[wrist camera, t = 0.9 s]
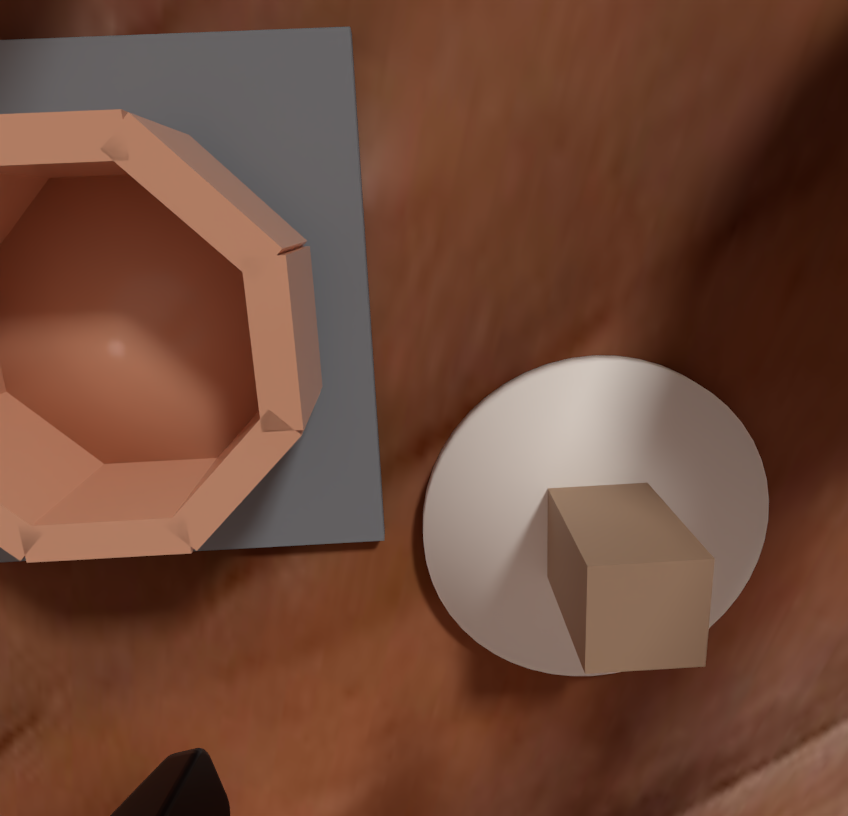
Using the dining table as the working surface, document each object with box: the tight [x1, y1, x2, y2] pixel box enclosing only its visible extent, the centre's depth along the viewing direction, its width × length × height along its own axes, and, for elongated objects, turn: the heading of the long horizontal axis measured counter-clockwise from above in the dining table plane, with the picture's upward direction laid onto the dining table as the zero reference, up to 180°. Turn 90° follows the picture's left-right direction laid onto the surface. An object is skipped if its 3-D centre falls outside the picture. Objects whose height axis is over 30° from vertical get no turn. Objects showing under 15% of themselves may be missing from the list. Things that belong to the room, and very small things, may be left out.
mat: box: [0, 27, 385, 562], centre depth 18 cm, size 12×14×1 cm
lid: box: [423, 355, 769, 676], centre depth 19 cm, size 11×11×6 cm
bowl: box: [0, 109, 322, 563], centre depth 16 cm, size 9×9×5 cm
